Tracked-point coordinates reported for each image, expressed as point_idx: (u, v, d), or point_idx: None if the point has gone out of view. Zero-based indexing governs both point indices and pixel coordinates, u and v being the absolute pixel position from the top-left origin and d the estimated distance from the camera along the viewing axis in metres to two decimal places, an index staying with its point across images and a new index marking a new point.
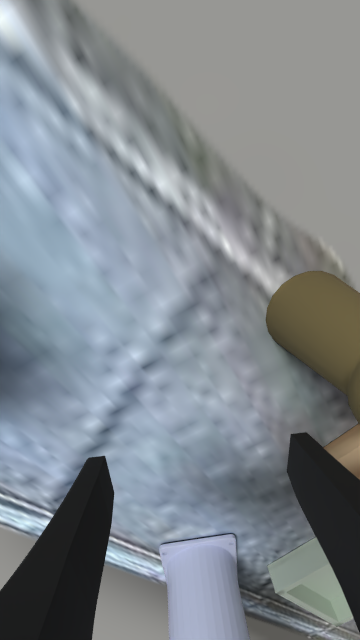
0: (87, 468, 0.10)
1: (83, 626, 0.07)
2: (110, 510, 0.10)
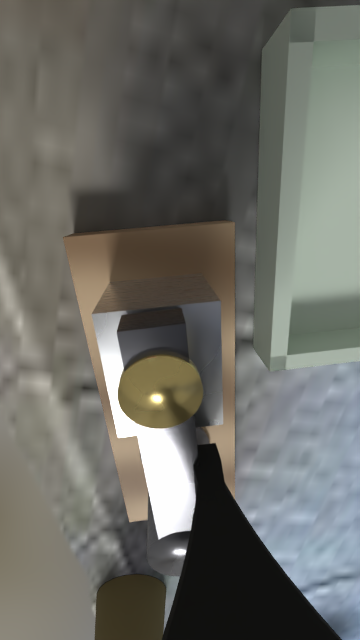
0: (205, 454, 0.10)
1: None
2: None
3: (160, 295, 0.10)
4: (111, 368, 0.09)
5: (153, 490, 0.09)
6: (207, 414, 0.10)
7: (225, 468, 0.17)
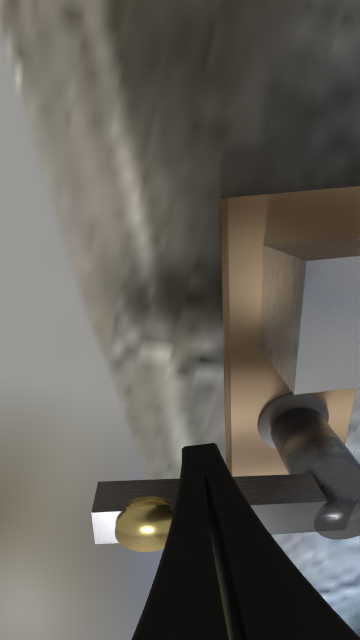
0: (189, 456, 0.10)
1: None
2: None
3: (350, 249, 0.10)
4: (308, 320, 0.09)
5: None
6: None
7: None
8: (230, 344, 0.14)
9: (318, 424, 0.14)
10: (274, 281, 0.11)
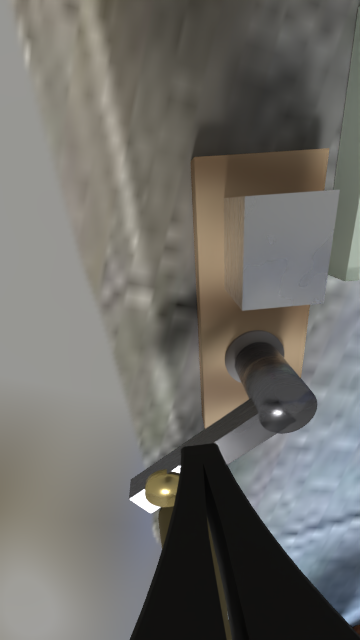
0: (188, 456, 0.10)
1: None
2: None
3: None
4: (249, 245, 0.12)
5: (233, 458, 0.15)
6: (313, 293, 0.13)
7: None
8: (199, 285, 0.17)
9: (253, 355, 0.16)
10: (230, 224, 0.14)
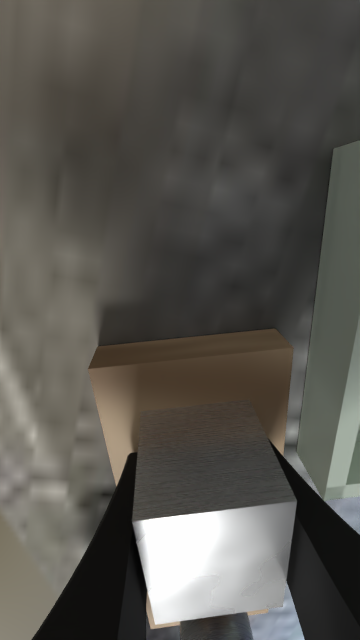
0: (131, 463, 0.10)
1: (140, 618, 0.07)
2: None
3: (212, 467, 0.08)
4: (152, 567, 0.07)
5: None
6: (265, 599, 0.08)
7: None
8: None
9: None
10: None
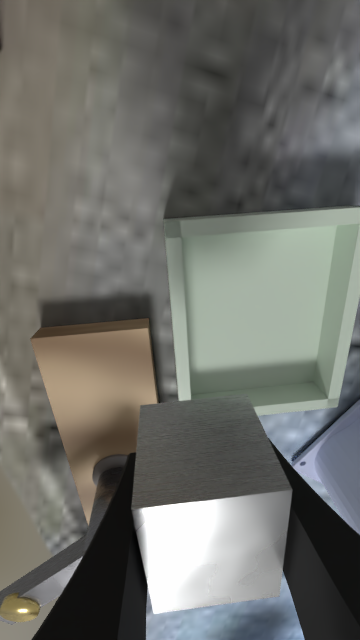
0: (131, 463, 0.10)
1: (140, 618, 0.07)
2: None
3: (210, 458, 0.08)
4: (151, 556, 0.07)
5: None
6: (261, 589, 0.09)
7: None
8: (57, 424, 0.19)
9: (103, 486, 0.19)
10: None
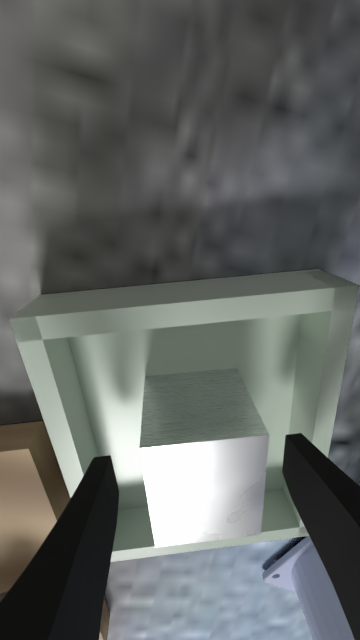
0: (93, 467, 0.10)
1: (91, 625, 0.07)
2: (115, 509, 0.10)
3: (203, 414, 0.10)
4: (154, 491, 0.09)
5: None
6: (245, 527, 0.10)
7: None
8: None
9: None
10: None
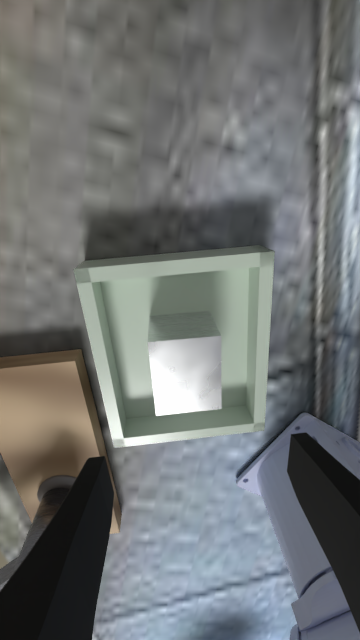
0: (87, 468, 0.10)
1: (83, 626, 0.07)
2: (110, 510, 0.10)
3: (185, 329, 0.16)
4: (155, 373, 0.16)
5: None
6: (211, 402, 0.17)
7: None
8: None
9: (42, 506, 0.20)
10: None
